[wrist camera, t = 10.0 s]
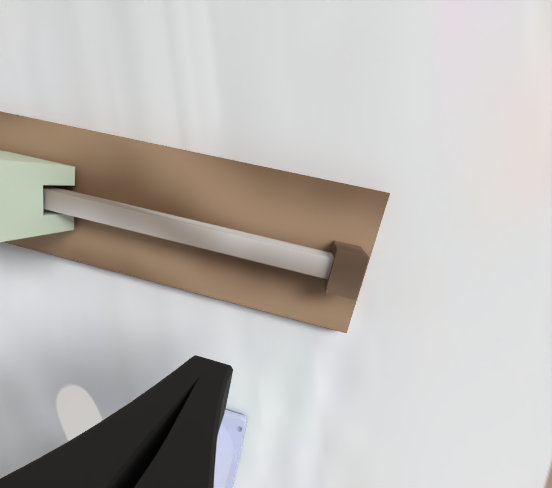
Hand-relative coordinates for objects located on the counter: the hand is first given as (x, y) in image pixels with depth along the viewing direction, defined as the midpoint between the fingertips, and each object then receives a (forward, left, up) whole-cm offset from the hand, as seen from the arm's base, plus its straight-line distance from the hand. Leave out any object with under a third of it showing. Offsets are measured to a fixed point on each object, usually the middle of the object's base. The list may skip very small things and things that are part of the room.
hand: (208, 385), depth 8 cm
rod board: (+3, +8, -9) cm, 13 cm away
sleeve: (+3, +16, -8) cm, 18 cm away
